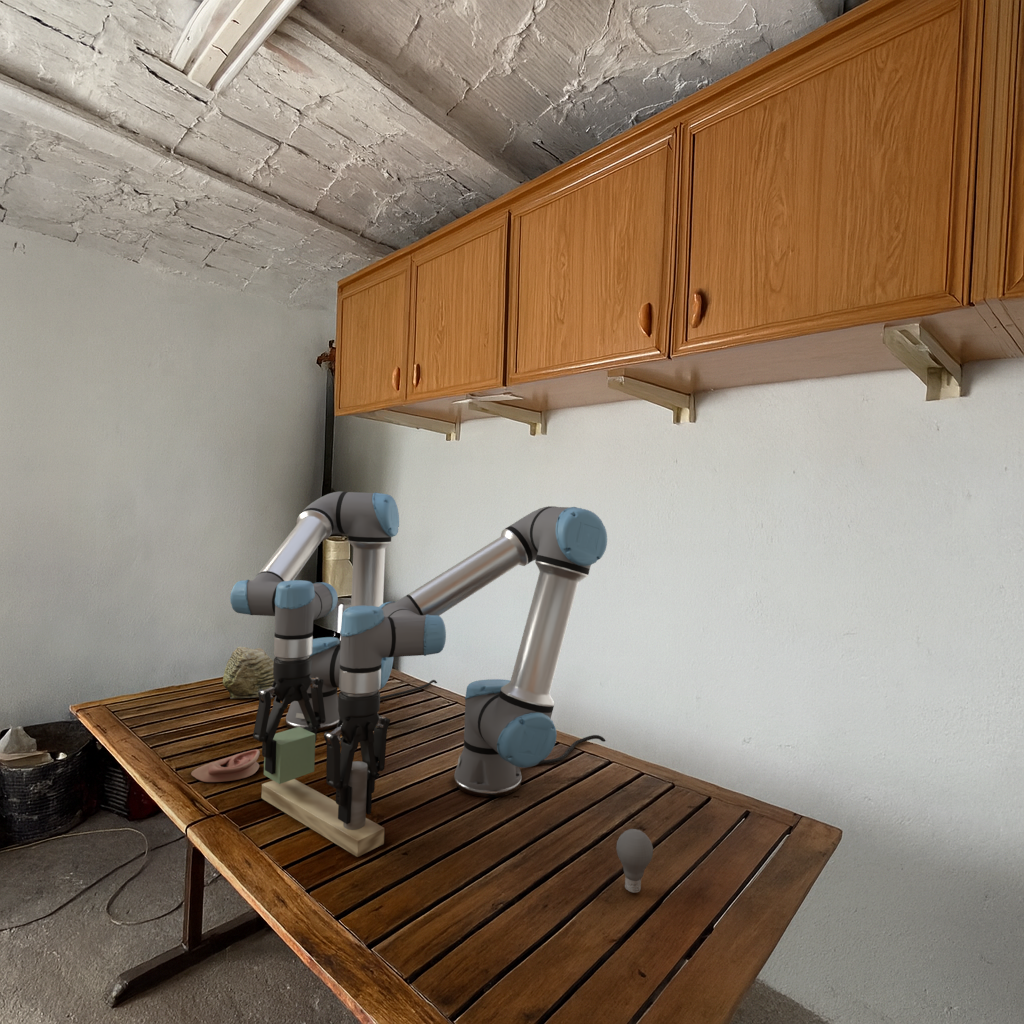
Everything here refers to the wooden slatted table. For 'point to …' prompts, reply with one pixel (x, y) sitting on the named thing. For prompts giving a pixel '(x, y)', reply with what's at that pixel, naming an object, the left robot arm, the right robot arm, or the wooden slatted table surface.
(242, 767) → the anatomical model
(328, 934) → the wooden slatted table surface
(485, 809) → the wooden slatted table surface
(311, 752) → the green block
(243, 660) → the fossil
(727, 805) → the wooden slatted table surface
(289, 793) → the birch board
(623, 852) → the light bulb
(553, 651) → the right robot arm
